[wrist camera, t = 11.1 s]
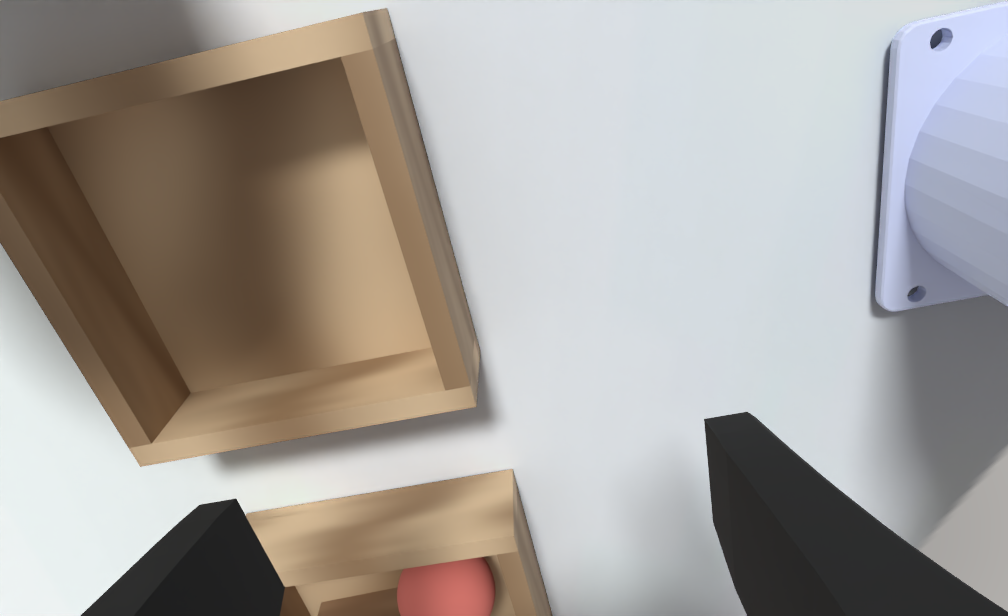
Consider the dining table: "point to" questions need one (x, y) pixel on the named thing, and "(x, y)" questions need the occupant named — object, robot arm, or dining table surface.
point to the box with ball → (403, 542)
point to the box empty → (242, 242)
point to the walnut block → (363, 605)
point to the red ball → (447, 589)
